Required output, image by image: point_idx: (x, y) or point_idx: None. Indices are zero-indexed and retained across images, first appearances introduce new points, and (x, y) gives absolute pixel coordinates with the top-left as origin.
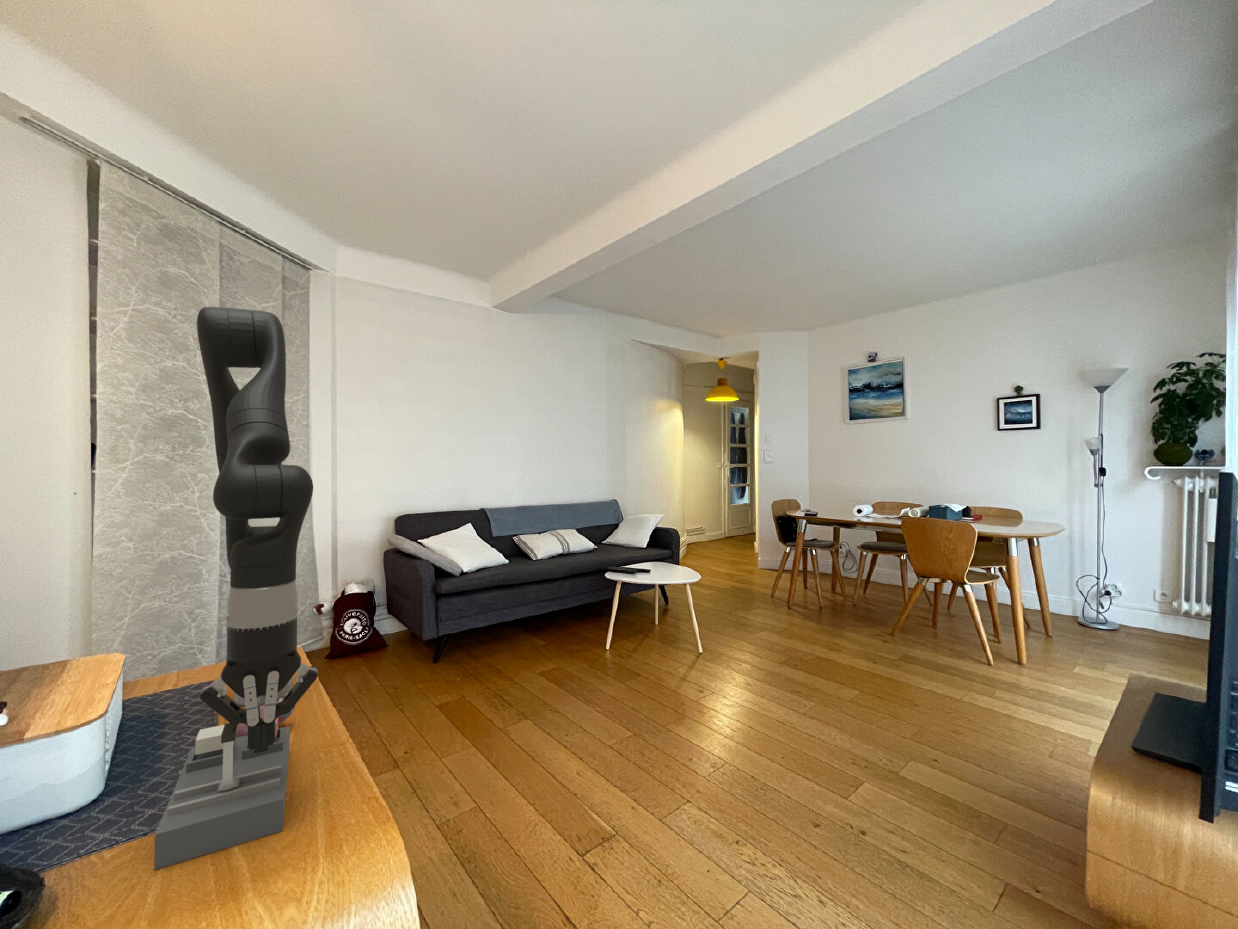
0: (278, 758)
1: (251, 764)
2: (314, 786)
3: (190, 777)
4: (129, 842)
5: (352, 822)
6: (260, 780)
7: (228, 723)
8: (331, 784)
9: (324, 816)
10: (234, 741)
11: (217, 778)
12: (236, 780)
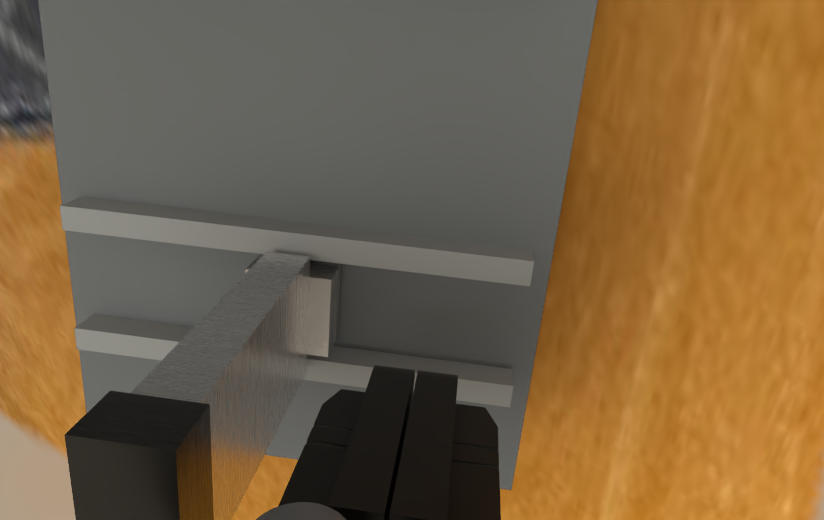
0: (533, 90)
1: (389, 69)
2: (668, 177)
3: (94, 15)
4: (30, 144)
5: (720, 501)
6: (431, 282)
7: (92, 445)
8: (737, 209)
9: (648, 413)
10: (218, 480)
11: (231, 121)
12: (317, 311)
